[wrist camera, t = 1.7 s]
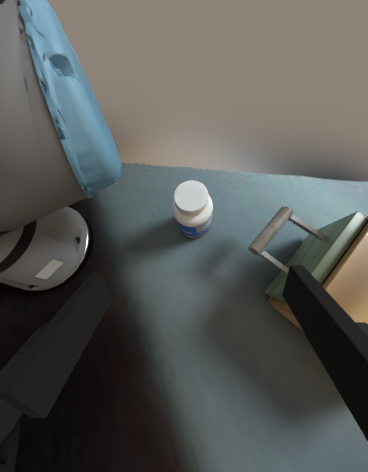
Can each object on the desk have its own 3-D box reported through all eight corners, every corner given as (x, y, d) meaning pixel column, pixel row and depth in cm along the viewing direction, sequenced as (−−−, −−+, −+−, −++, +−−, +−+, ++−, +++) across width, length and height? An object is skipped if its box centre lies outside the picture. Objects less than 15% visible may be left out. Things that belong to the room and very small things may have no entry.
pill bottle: (173, 222, 28) (157, 193, 19) (196, 204, 28) (192, 166, 19) (193, 245, 26) (187, 226, 17) (217, 225, 27) (224, 195, 18)
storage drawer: (230, 265, 24) (242, 257, 17) (275, 211, 25) (305, 181, 18) (364, 375, 19) (470, 436, 11) (411, 299, 20) (532, 308, 13)
